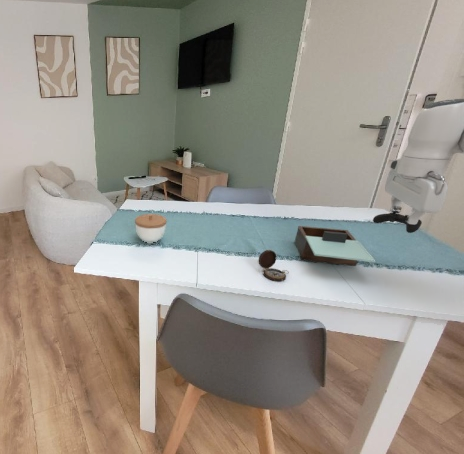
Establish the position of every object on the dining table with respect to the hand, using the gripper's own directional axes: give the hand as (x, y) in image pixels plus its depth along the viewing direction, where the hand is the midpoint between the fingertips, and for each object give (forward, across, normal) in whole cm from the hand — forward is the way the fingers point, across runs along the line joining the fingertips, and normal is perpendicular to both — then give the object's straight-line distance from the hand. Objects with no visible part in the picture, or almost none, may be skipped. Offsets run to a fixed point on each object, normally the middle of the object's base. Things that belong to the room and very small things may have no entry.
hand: (402, 217), depth 81 cm
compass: (+20, -7, +29) cm, 36 cm away
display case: (+20, +13, +11) cm, 26 cm away
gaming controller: (+3, 0, 0) cm, 3 cm away
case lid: (+13, +2, +12) cm, 17 cm away
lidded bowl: (+20, +7, +72) cm, 76 cm away
